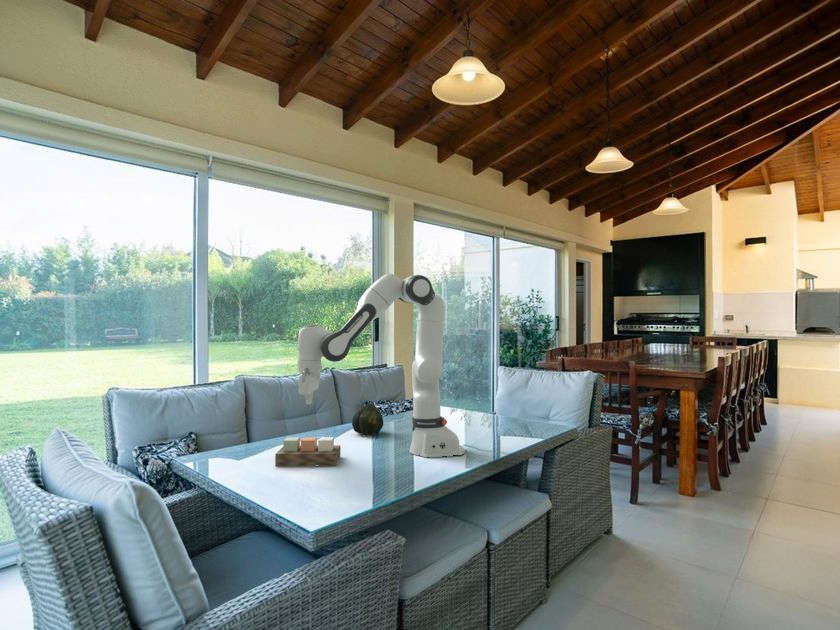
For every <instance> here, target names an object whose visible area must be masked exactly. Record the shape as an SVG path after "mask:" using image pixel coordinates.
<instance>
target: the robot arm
mask: <svg viewBox="0 0 840 630" xmlns="http://www.w3.org/2000/svg"><path fill="white" fill-rule="evenodd" d="M397 300H399V301H402V302H404V303H406V304H415V306H416V308H417V320H416V322H417V323H416V333H415V334H416V335H415V354H414V355H415V358H414V360H413V362H412V366H411V377H412V379H411V380H412V382H411V383H412V396H413V397H412V400H413V402H412V405H413V406H412V408H413V409H412V413H413V414H412V415H413V416H412V419H411V431H412V436H411V443H410V447H409V450H408V451H409V453H410V454H412V455H415V456H419V455H420V457H424V458H425V459H428V458H427V457H430V458H443V457H442V456H447V457H454V456H453V455H462V454H464V453H465V454H466V449H465V447H464V446H462V445H460V440H459V437H458V435H457V434H456V433H455V432H453V430H451V429H450V427H447V426H446V425H447V424H448V421H447V419H446V418H445V417H444V416H441V393H440V382H439V381H440V379H441V377H442V375H443V362H444V356H443V355H444V352H443V351H444V349H443V348H444V347H443V346H444V342H443V341H444V330H445V329H444V328H445V320H446V319H445V318H446V317H445V315H446V314H445V310H446V309H445V301H444V299H443V298H442V297H441V296H439V295H436V293H435V290H434V287H433V284H432V282H431V280H430V279H429V278H428V277H426V276H424V275H421V274H417V275H416V274H415V275H409V276H408V277H406V278H402V279H401V278H399V277H398V275H395V274H393V273H385V274H383V275H382V276H380V277H379V278H378V279H377V280H375V281H374V282H373V283H372V284H371V285H370V286H369V287H368V288H367V289H366V290H365V292H363V293H362V295H361V296H360V298H359V300H358V302H357V307H356V310H355V312H354V314H353V315H352V317H350V318H349V320H348V321H347V322H346V323H345V324H344V325H343V326H342V327H341V328H340V329H339V330H338V331H336V332H332V331H330V330H327V329H325V328H323V327H322V326H321V325H320V324H310V325H305V326H302V327H301V328H300V329H299V332H298V336H297V351H298V356H297V371H296V372H297V373H300V374H299V377H298V390H297V391H298V396H304V399H305V405H311V404H312V403H313V396H314V392H315V391H316V390H317V389H319V387H320V381H321V372H322V369H323V366H322V365H323V364H322V358H323V357H324V358H325V359H326V360H328V361H330V362H334V363H335V362H336V363H337V362H341V361H342V360H344V359H345V358H346V357H347V356H348V354H349V351H350V348H351V347H352V344H353V342H354V341H355V340H356V339H357V338H358V336H359V335H360V334H361V332H363V330H365V329H366V327H367V326H368V325H369V324H371V323H372V322H374V320H375V319H377V318H379V317H380V316H381V315H383V314H384V313H385V312H386V311H387V310H388V308H390V307H391V306H392V304H394V302H395V301H397ZM465 454H464V455H465ZM462 456H463V455H462Z"/></svg>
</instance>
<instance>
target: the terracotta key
mask: <svg viewBox="0 0 840 630" xmlns="http://www.w3.org/2000/svg"><path fill="white" fill-rule="evenodd" d="M317 445H318V437H317V436H316V437H315V436H311V437H309V436H308V437H306V436H305V437H303V438H301V439H300V446H301V451H316V449H317Z"/></svg>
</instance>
